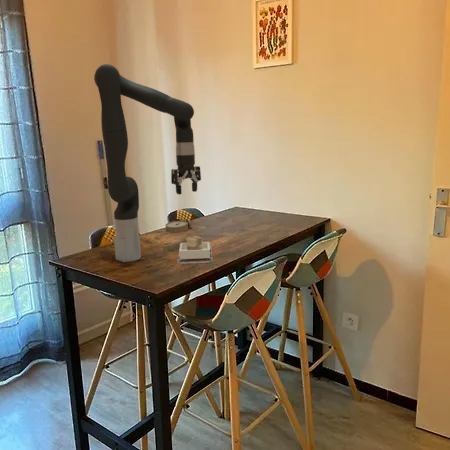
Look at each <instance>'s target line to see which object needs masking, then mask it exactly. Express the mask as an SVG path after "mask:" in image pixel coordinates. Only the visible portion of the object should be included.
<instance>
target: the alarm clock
mask: <svg viewBox="0 0 450 450" xmlns="http://www.w3.org/2000/svg"><path fill="white" fill-rule="evenodd" d="M192 224H193V223H192V222H191V220H189V219H185V220H182V219H181V218H176V219H175V220H173V221H170V222H167V223H166V224H165V228H164V229H163V230H164V231H166V232H167V233H171V234H177V233H179V234H180V233H185V232H187V231H188V230H189V229H191V228H192Z"/></svg>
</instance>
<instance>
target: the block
mask: <svg viewBox="0 0 450 450" xmlns="http://www.w3.org/2000/svg"><path fill="white" fill-rule="evenodd" d="M202 242H203V237H202V236H201V237H200V236H196V235H193V236H190V237H187V238H186V243H187V250H203V243H202Z"/></svg>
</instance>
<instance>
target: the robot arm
mask: <svg viewBox="0 0 450 450" xmlns="http://www.w3.org/2000/svg"><path fill="white" fill-rule="evenodd" d="M93 80H94V84H95V85H96V87H97V90H98V93H99V98H100V103H101V117H100V119H101V134H102V140H103V141H102V142H103V145H104V154H105V159H106V160H105V161H106V171H107V190H108V194H109V197H110V198H111V200H112V201H113V202H115V203H117V206H116V208H115V209H114V212H113V218H114V228H115V229H114V230H115V231H114V232H115V236H114V237H113V242H114V244H113V245H114V253H115V260H116V261H119V262H122V263H128V262H135V261H138V260H140V259H141V258H142V255H141V253H142V252H141V241H140V230H139V216H138V213H139V208H140V197H139V196H140V195H139V186H138V183H137V181H136V180H135V179H134V178H133V177H131V176H127V173H126V158H127V153H128V147H129V138H128V130H127V124H126V119H125V115H124V109H123V104H122V98H121V97H122V96H123V97H126V98H129V99H132V100H134V101H136V102H138V103H139V104H140V103H141V104H143V105H145V106H147V107H149V108H151V109H153V110H156V111H158V112H161V113H164V114H167V115H170V116H172V117H173V120H174V121H173V122H174V126H175V143H176V144H175V158H176V166H177V169H176V168H172V169H171V175H170V176H171V177H170V178H171V182H170V183H171V184H172V185H175V193H176V195H182V192H183V191H182V184H183V182H184V181H185V180H187V179H190V180H191V191H192V192H198V182H199V181H201V180H202V175H201V174H202V173H201V166H197V165H196V158H195V157H196V156H195V155H196V153H195V151H196V150H195V143H194V131H193V128H192V120H191V119H192V118H193V117H194V115H195V110H194V107H193V106H192V105H191V104H190V103H188V102H186V101H184V100H180V99H178V98H175V97H172V96H170V95H168V94H166V93H164V92H162V91H160V90H158V89H155V88H152V87H149V86H146V85H143V84H140V83H136V82H135V81H132V80H131V79H128V78H126V77H124V76H123V75H122V74H120V72H119V70H118V69H117V68H116V66H114V65H112V64H108V63H104V64H102V65H100V66H98V67H97V69H96V71H95V73H94V77H93Z"/></svg>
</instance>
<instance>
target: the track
mask: <svg viewBox="0 0 450 450" xmlns="http://www.w3.org/2000/svg"><path fill="white" fill-rule="evenodd" d="M209 245H210V249H211V252H210V255H211V256H212V258H198V259H178V258H177V261H176V264H177V265H181V264H184V265H185V264H186V265H187V264H202V263H203V264H205V263H213V261H214V260H213V249H212V243H209ZM178 250H180V248H179V249H178ZM178 256H179V254H178ZM178 256H177V257H178Z"/></svg>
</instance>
